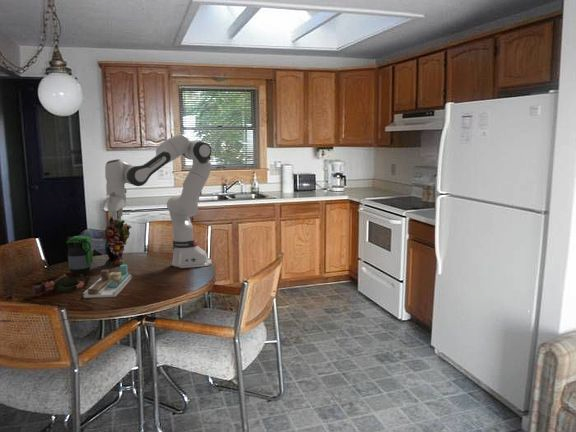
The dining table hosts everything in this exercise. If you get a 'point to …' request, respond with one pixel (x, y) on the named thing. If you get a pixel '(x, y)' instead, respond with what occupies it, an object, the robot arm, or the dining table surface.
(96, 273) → the dining table surface
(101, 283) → the strip walnut
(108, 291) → the lane board
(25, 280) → the dining table surface
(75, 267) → the potted plant
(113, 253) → the flower bouquet vase
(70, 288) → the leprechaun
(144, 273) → the dining table surface
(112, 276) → the maple cube
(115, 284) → the strip teal
